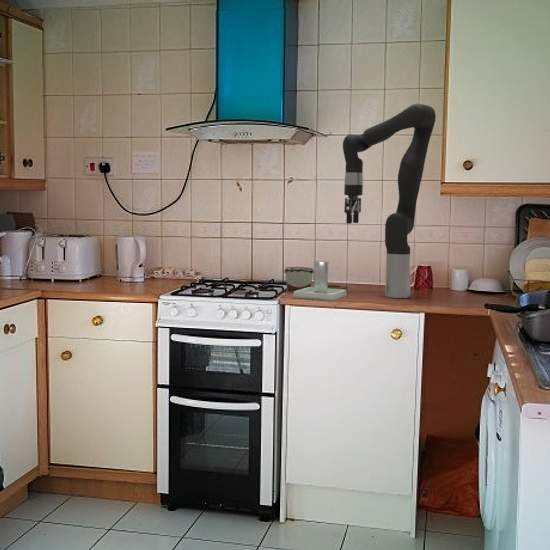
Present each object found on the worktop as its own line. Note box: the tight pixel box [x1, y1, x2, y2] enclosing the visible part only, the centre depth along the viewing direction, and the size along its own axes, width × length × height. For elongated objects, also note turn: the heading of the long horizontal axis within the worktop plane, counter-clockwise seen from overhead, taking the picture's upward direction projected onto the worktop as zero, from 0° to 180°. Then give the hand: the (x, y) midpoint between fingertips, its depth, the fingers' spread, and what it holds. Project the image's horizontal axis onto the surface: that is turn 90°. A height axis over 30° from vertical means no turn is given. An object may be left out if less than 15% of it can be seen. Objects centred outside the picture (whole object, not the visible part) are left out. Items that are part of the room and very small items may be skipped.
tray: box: [293, 286, 348, 302], centre depth 298 cm, size 16×16×2 cm
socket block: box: [328, 284, 348, 293], centre depth 312 cm, size 9×9×2 cm
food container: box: [283, 266, 314, 293], centre depth 312 cm, size 12×6×10 cm, turn 84°
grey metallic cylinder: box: [313, 260, 329, 294], centre depth 298 cm, size 5×5×13 cm
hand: (352, 223), depth 316 cm, fingers open, 8 cm apart
